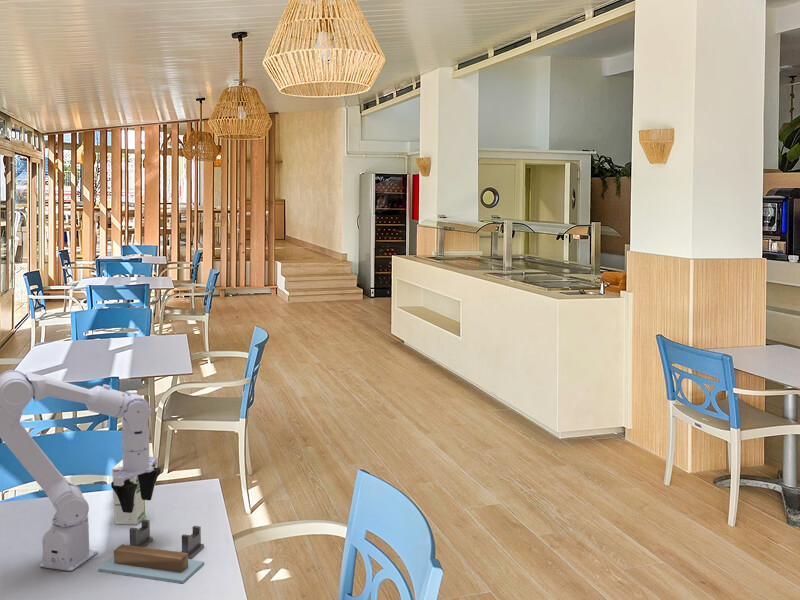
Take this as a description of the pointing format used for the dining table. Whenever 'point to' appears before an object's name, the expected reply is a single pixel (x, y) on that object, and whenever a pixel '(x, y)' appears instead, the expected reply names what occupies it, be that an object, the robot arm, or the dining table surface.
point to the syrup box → (139, 504)
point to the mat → (152, 571)
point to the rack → (189, 542)
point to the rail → (151, 558)
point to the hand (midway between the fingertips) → (137, 505)
